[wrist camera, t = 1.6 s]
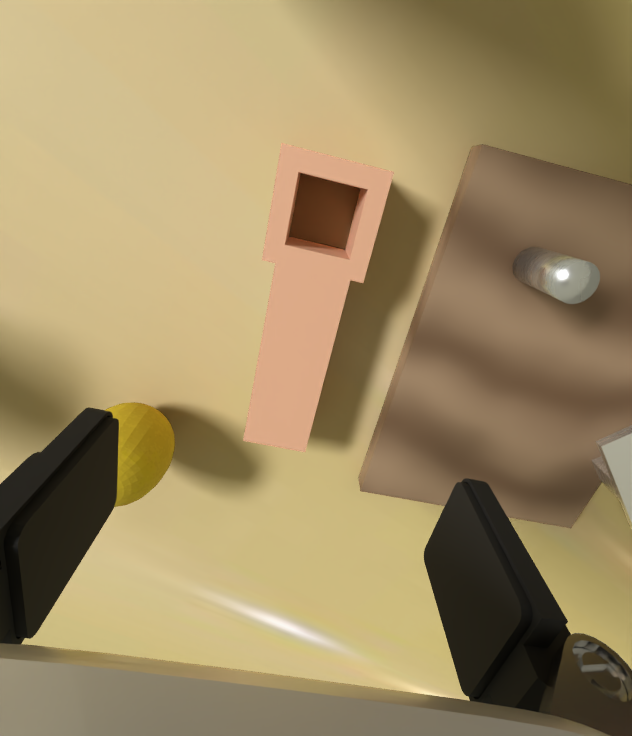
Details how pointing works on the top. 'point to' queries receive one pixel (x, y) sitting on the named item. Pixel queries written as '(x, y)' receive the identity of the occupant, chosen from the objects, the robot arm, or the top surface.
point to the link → (307, 296)
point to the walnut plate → (513, 347)
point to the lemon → (141, 450)
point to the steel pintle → (556, 274)
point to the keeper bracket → (617, 467)
